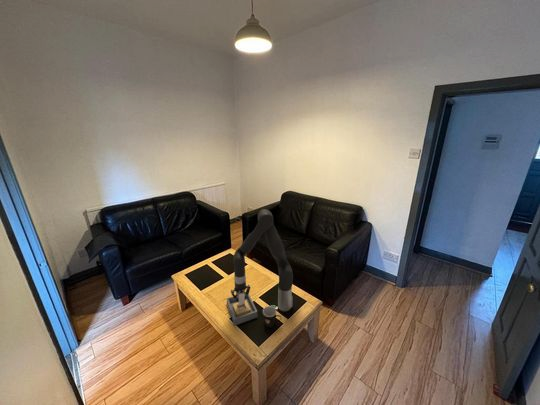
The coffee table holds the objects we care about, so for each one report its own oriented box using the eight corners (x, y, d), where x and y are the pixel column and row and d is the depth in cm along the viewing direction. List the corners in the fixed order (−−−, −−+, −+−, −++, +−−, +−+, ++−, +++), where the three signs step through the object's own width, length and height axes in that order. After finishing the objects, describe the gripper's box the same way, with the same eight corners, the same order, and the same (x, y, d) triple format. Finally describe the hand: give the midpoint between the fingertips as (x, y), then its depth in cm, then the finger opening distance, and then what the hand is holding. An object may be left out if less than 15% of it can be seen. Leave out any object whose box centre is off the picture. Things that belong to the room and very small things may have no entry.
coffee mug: (260, 323, 143) (260, 311, 139) (269, 315, 148) (269, 304, 145) (272, 334, 135) (272, 322, 131) (282, 326, 140) (282, 314, 137)
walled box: (248, 297, 164) (247, 291, 162) (257, 317, 147) (257, 311, 145) (227, 303, 158) (226, 298, 156) (234, 325, 141) (234, 319, 139)
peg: (243, 299, 153) (242, 289, 150) (244, 303, 149) (244, 293, 146) (237, 301, 151) (237, 290, 148) (239, 305, 148) (238, 294, 145)
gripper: (248, 273, 150) (249, 293, 156) (228, 279, 144) (229, 299, 150) (252, 280, 143) (252, 301, 149) (231, 286, 138) (232, 307, 144)
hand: (241, 300), depth 150 cm, fingers closed on peg, 4 cm apart
